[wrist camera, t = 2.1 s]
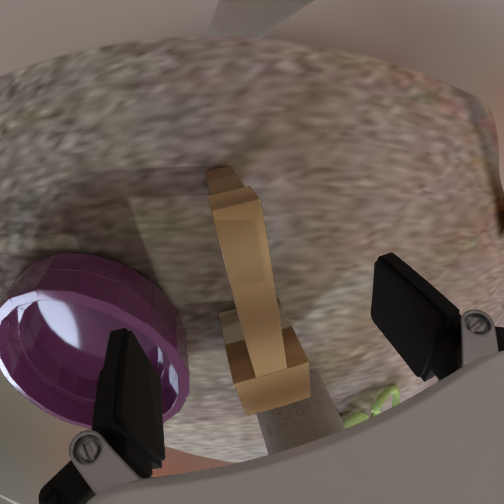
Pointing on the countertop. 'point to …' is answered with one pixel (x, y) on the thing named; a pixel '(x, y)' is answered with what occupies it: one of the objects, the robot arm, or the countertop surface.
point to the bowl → (85, 333)
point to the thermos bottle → (300, 420)
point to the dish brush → (254, 303)
